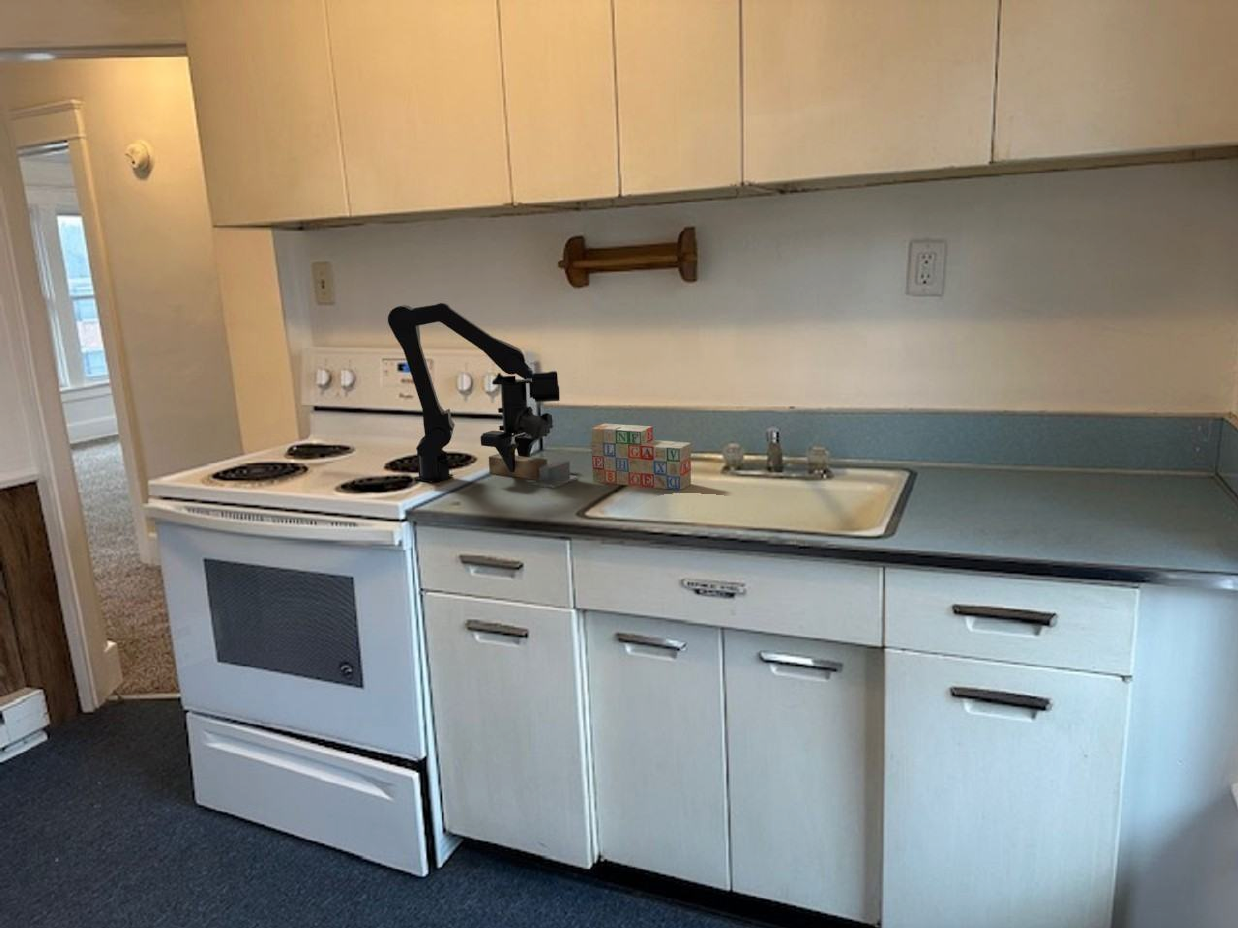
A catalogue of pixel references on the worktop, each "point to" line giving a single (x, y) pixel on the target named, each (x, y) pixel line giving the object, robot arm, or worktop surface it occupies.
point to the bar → (517, 466)
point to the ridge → (555, 475)
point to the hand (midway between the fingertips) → (518, 469)
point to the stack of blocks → (639, 458)
